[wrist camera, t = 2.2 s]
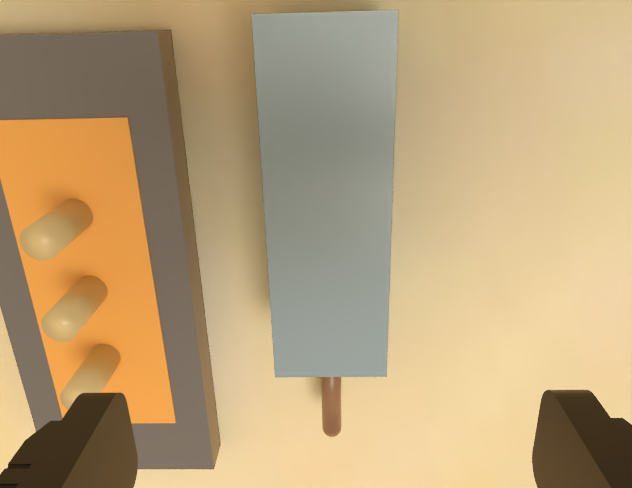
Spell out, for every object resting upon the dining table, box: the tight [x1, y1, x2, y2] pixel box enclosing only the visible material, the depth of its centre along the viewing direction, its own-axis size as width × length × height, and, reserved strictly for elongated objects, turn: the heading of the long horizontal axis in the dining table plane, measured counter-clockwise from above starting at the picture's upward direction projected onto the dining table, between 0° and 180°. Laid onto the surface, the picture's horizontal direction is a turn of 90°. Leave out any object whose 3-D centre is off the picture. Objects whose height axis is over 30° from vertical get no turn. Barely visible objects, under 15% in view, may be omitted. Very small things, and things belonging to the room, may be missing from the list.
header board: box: [0, 30, 220, 469], centre depth 26 cm, size 24×10×6 cm, turn 1°
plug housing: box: [251, 10, 399, 437], centre depth 25 cm, size 21×5×6 cm, turn 1°
